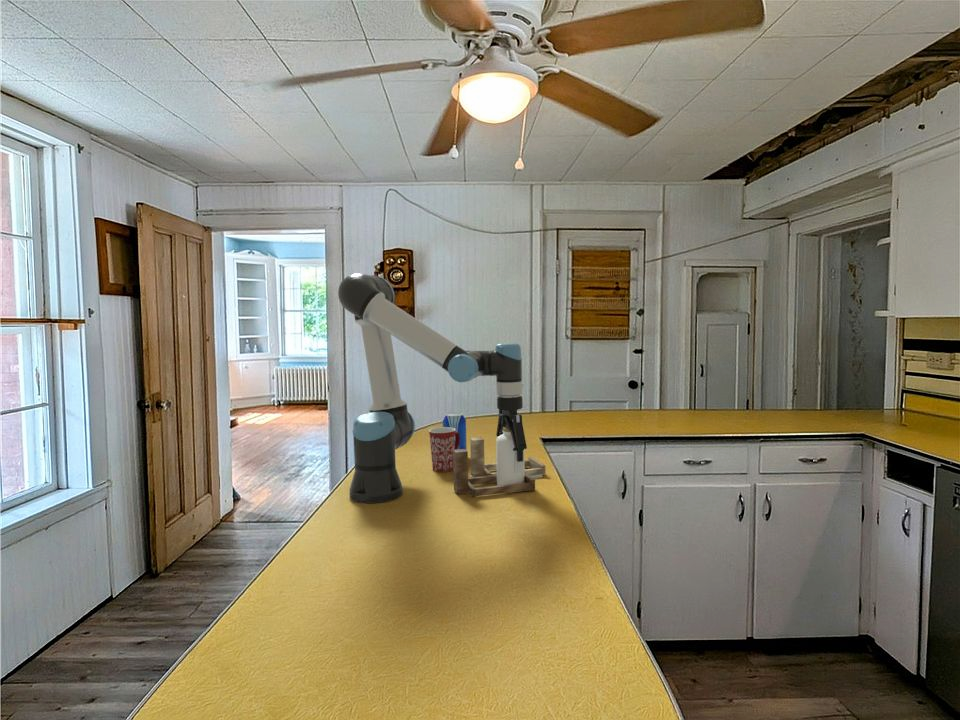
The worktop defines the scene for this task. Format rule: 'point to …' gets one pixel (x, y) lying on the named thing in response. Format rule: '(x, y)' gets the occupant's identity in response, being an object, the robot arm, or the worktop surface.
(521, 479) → the potion bottle
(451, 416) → the beer can
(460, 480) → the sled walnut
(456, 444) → the mug
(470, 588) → the worktop surface
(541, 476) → the lane divider
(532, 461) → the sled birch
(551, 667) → the worktop surface
